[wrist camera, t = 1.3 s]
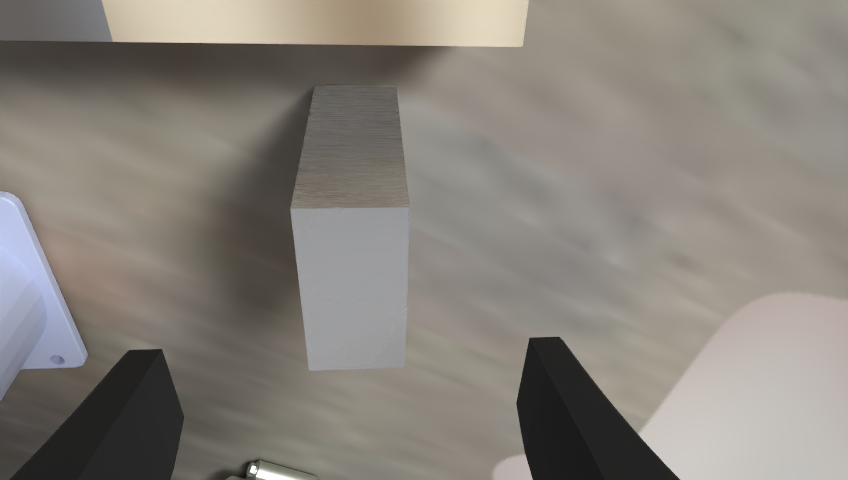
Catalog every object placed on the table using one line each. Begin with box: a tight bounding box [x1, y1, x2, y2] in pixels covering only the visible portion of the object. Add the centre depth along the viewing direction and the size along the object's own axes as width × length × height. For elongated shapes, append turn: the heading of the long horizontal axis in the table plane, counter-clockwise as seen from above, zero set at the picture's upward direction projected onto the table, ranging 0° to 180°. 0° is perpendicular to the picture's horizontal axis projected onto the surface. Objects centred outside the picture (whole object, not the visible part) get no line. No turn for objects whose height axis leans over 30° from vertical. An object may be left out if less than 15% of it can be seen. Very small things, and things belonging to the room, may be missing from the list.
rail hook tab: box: [290, 85, 409, 371], centre depth 17 cm, size 2×5×7 cm, turn 178°
